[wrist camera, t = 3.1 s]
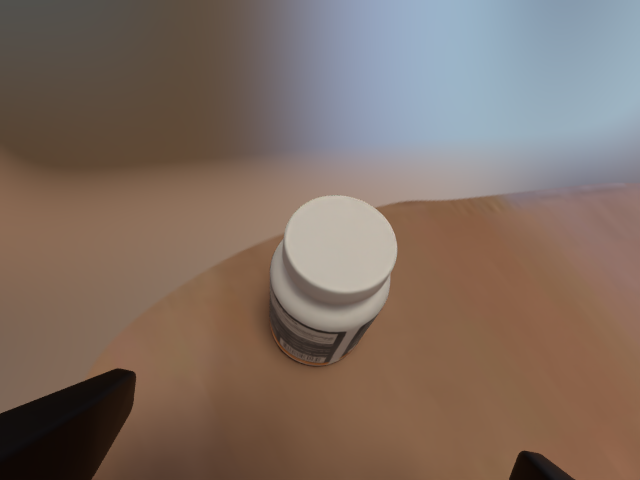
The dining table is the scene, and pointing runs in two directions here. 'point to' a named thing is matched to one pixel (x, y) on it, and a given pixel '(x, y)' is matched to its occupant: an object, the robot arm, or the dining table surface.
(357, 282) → the pill bottle
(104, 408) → the robot arm
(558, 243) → the dining table surface
